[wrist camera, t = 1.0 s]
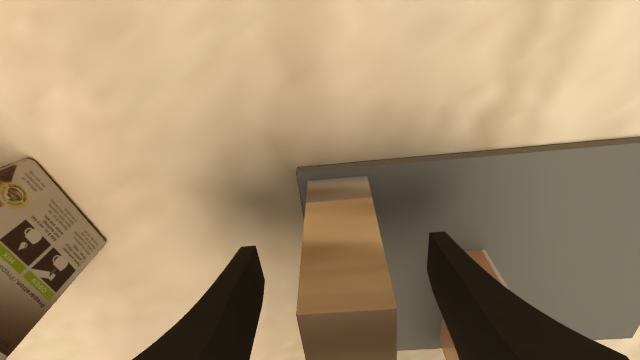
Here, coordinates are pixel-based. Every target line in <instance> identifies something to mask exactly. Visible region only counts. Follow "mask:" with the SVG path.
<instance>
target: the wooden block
mask: <svg viewBox="0 0 640 360" xmlns="http://www.w3.org/2000/svg"><path fill="white" fill-rule="evenodd" d="M296 316H297V321H298V325H299V330H300V335H301V339H302V344H303V349H304V354H305V358H306V360H396V359H397V306H396V301H395V297H394V293H393V288H392V284H391V279H390V275H389V270H388V266H387V262H386V257H385V253H384V248H383V244H382V239H381V235H380V230H379V226H378V222H377V217H376V213H375V208H374V204H373V199H372V195H371V190H370V186H369V182H368V177H367V176H358V177H347V178H335V179H324V180H312V181H308V183H307V195H306V207H305V219H304V230H303V242H302V254H301V266H300V277H299V289H298V301H297V313H296Z"/></svg>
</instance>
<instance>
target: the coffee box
mask: <svg viewBox="0 0 640 360" xmlns="http://www.w3.org/2000/svg"><path fill="white" fill-rule="evenodd" d="M104 245H105V241H104V239H103V238H102V237H101V236H100V235H99V234H98V232H97V231H96V230H95V229H94V228H93V227H92V226H91V225H90V223H89V222H88V221H87V220H86V219H85V218H84V217H83V215H82V214H81V213H80V212H79V211H78V210H77V209H76V207H75V206H74V205H73V204H72V203H71V202H70V201H69V199H68V198H67V197H66V196H65V195H64V194H63V193H62V191H61V190H60V189H59V188H58V187H57V186H56V185H55V184H54V182H53V181H52V180H51V179H50V178H49V177H48V176H47V174H46V173H45V172H44V171H43V170H42V169H41V168H40V166H39V165H38V164H37V163H36V162H35V161H34V160H31V159H27V158H26V159H22V160H20V161H17V162H14V163H12V164H9V165H7V166H4V167H2V168H0V360H6V358H7V357H8V356H9V355H10V354H11V352H12V351H13V350H14V349H15V348H16V347H17V346H18V344H19V343H20V342H21V341H22V340H23V339H24V337H25V336H26V335H27V334H28V333H29V332H30V330H31V329H32V328H33V327H34V326H35V325H36V324H37V322H38V321H39V320H40V319H41V318H42V317H43V316H44V314H45V313H46V312H47V311H48V310H49V309H50V308H51V306H52V305H53V304H54V303H55V302H56V301H57V299H58V298H59V297H60V296H61V295H62V294H63V292H64V291H65V290H66V289H67V288H68V287H69V285H70V284H71V283H72V282H73V281H74V280H75V278H76V277H77V276H78V275H79V274H80V273H81V272H82V270H83V269H84V268H85V267H86V266H87V265H88V263H89V262H90V261H91V260H92V259H93V258H94V257H95V256H96V254H97V253H98V252H99V251H100V250H101V249H102V248H103V246H104Z"/></svg>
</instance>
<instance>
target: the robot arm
mask: <svg viewBox="0 0 640 360" xmlns="http://www.w3.org/2000/svg"><path fill="white" fill-rule="evenodd" d="M427 273H428V276H429V280H430V284H431V288H432V291H433V294H434V297H435V299H436V302H437V304H438V307H439V309H440V312H441V314H442V316H443V319H444V321H445V324H446V326H447V329H448V331H449V334H450V336H451V339H452V341H453V343H454V346H455V349H456V352H457V355H458V358H459V360H629V359H628V357H627V356H625V355H623V354H621V353H619V352H617V351H614V350H612V349H610V348H608V347H606V346H604V345H602V344H600V343H597V342H595V341H593V340H591V339H589V338H587V337H585V336H583V335H581V334H580V333H578V332H576V331H574V330H572V329H570V328H568V327H566V326H565V325H563V324H561V323H559V322H558V321H556V320H554V319H552V318H551V317H549V316H548V315H546V314H544V313H543V312H541V311H540V310H538V309H536V308H535V307H533V306H532V305H530V304H529V303H527V302H526V301H524V300H523V299H521V298H520V297H519V296H517V295H516V294H514V293H513V292H512V291H510V290H509V289H507V288H506V287H505V286H504V285H502V284H501V283H500V282H499V281H497V280H496V279H495V278H494V277H493V276H491V275H490V274H489V273H488V272H487V271H486V270H484V269H483V268H482V267H481V266H480V265H479V264H478V263H477V262H476V261H474V260H473V259H472V258H471V257H470V256H469V255H468V254H467V253H466V252H465V251H464V250H463V249H462V248H461V247H460V246H459V245H458V244H457V243H456V242H455V241H454V240H453V239H452V238H451V237H450V236H449V235H448V234H447V233H446V232H445V231H444V232H430V233H429V244H428V257H427ZM264 283H265V280H264V276H263V272H262V268H261V264H260V261H259V257H258V253H257V249H256V246H246V247H241V248H240V249H239V250H238V252H237V253H236V254H235V256H234V257H233V258H232V260H231V261H230V263H229V264H228V265H227V267H226V268H225V269H224V271H223V272H222V273H221V274H220V276H219V277H218V278H217V280H216V281H215V282H214V283H213V285H212V286H211V287H210V288H209V289H208V291H207V292H206V293H205V294H204V295H203V296H202V297H201V299H200V300H199V301H198V302H197V303H196V304H195V305H194V306H193V307H192V309H191V310H190V311H189V312H188V313H187V314H186V315H185V316H184V317H183V318H182V319H181V320H180V321H179V322H178V323H176V324H175V325H174V326H173V327H172V328H171V329H170V330H168V331H167V332H166V333H165V334H164V335H163V336H162V337H160V338H159V339H158V340H157V341H156V342H155V343H153V344H152V345H151V346H150V347H148V348H147V349H146V350H144V351H143V352H142V353H140V354H139V355H138V356H136V357H135V358H134V359H132V360H250V355H251V350H252V346H253V342H254V338H255V333H256V329H257V325H258V321H259V316H260V312H261V307H262V302H263V294H264Z"/></svg>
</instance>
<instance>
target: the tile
mask: <svg viewBox="0 0 640 360" xmlns="http://www.w3.org/2000/svg"><path fill="white" fill-rule="evenodd" d="M465 252H466V253H467V254H468V255H469V256H470V257H471V258H472V259H473V260H474V261H476V262H477V263H478V264H479V265H480V266H481V267H482V268H483V269H484V270H486V271H487V272H488V273H489V274H490V275H491V276H493V277H494V278H495V279H496V280H497V281H499V282H500V283H501V284H502V285H504V286H505V287H506V288H507V289H509V288H508V286H507V285H506V283H505V282H504V280H503V278H502V277H501V275H500V273H499V272H498V270H497V268H496V267H495V265H494V263H493V262H492V260H491V259H490V257H489V255H488V254H487V252H486V250H473V251H465ZM439 340H440V343H441V346H442V349H443V352H444V355H445V358H446V360H459V358H458V355H457V352H456V349H455V346H454V343H453V341H452V339H451V336H450V334H449V331H448V329H447V326H446V324H445V321H444V319H443V316H442V321H441V330H440V339H439Z"/></svg>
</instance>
